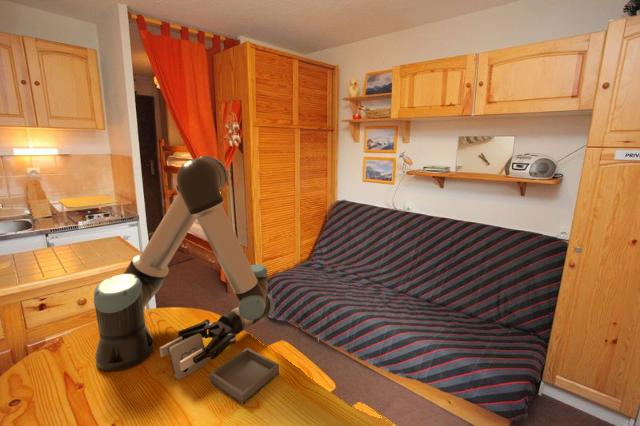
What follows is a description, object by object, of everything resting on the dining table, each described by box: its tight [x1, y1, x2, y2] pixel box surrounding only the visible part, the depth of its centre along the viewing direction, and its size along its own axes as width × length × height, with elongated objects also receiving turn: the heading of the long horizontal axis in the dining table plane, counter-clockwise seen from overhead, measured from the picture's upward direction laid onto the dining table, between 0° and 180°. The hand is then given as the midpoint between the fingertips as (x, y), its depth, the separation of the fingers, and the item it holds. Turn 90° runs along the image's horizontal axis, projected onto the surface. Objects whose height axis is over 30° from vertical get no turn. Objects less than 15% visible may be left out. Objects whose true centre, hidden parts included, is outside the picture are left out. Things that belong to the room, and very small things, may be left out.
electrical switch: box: [168, 333, 208, 381], centre depth 92 cm, size 9×5×9 cm, turn 141°
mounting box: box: [209, 347, 280, 406], centre depth 90 cm, size 13×14×3 cm
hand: (170, 359), depth 88 cm, fingers open, 9 cm apart
